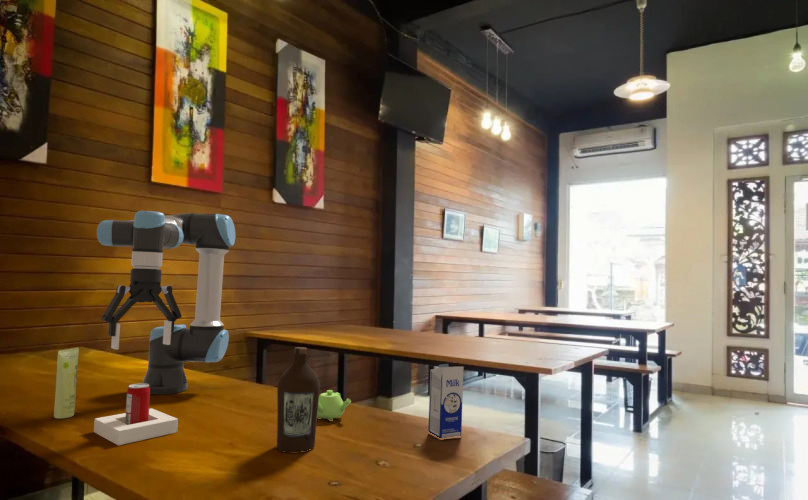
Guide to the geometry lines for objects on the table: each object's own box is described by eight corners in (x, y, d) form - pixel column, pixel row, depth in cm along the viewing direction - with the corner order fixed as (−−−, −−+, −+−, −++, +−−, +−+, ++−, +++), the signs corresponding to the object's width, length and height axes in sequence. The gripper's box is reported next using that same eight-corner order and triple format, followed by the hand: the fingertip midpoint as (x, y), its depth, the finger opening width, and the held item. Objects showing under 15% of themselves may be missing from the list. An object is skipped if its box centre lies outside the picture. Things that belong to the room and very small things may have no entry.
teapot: (342, 412, 162) (343, 385, 162) (351, 422, 151) (352, 394, 151) (307, 414, 158) (308, 387, 158) (313, 425, 147) (315, 395, 148)
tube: (74, 418, 145) (79, 349, 146) (52, 420, 142) (58, 350, 143) (74, 413, 149) (79, 347, 150) (53, 415, 147) (58, 347, 148)
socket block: (151, 420, 145) (151, 408, 145) (177, 432, 136) (178, 419, 136) (93, 431, 133) (94, 418, 134) (118, 445, 124) (119, 431, 124)
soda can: (152, 428, 136) (155, 383, 137) (136, 433, 131) (138, 387, 132) (136, 425, 138) (139, 381, 139) (119, 431, 133) (122, 385, 134)
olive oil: (274, 441, 132) (279, 344, 133) (315, 439, 134) (320, 345, 135) (273, 455, 121) (279, 351, 123) (318, 453, 124) (323, 351, 125)
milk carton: (440, 441, 137) (442, 366, 138) (427, 433, 143) (430, 362, 144) (461, 438, 140) (464, 365, 141) (448, 431, 146) (451, 361, 147)
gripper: (183, 269, 149) (179, 341, 148) (90, 265, 130) (84, 348, 129) (196, 269, 145) (192, 344, 144) (102, 266, 125) (96, 352, 124)
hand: (141, 346), depth 136 cm, fingers open, 13 cm apart
